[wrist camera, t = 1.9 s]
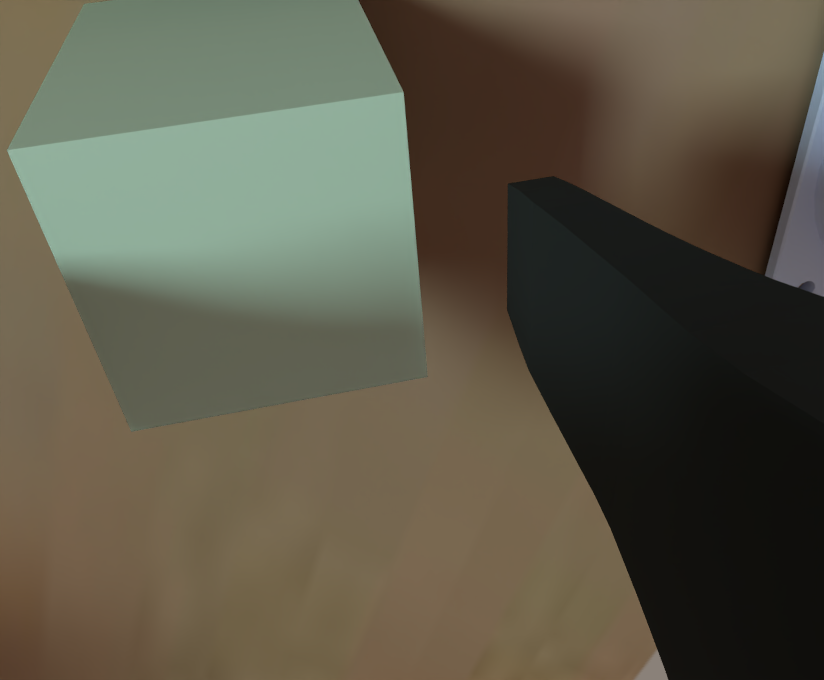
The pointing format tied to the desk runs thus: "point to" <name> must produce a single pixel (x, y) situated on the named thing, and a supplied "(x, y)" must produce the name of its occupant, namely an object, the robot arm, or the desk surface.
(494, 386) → the desk surface
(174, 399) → the block
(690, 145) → the desk surface
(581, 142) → the desk surface
